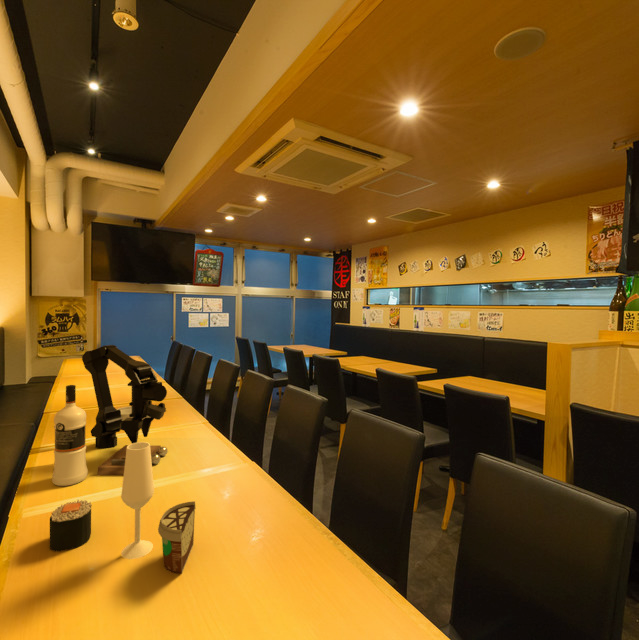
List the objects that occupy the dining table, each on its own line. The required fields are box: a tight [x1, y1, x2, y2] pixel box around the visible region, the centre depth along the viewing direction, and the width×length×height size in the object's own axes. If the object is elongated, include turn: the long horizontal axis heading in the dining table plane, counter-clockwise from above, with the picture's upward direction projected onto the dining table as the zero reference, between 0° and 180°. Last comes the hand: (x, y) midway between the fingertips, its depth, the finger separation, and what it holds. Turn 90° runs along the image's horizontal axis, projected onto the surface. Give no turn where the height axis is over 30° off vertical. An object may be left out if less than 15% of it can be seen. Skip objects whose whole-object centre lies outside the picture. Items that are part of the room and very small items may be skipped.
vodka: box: [51, 384, 89, 487], centre depth 115 cm, size 9×9×30 cm
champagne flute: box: [120, 441, 155, 560], centre depth 84 cm, size 7×7×24 cm
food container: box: [157, 501, 196, 575], centre depth 81 cm, size 12×6×10 cm, turn 5°
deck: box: [97, 444, 162, 476], centre depth 130 cm, size 13×19×4 cm
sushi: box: [49, 499, 93, 552], centre depth 87 cm, size 8×8×8 cm
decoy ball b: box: [151, 454, 161, 465], centre depth 129 cm, size 3×3×3 cm
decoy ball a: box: [158, 446, 169, 457], centre depth 136 cm, size 3×3×3 cm
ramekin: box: [116, 406, 133, 421], centre depth 170 cm, size 13×13×7 cm
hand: (140, 441), depth 136 cm, fingers open, 9 cm apart
